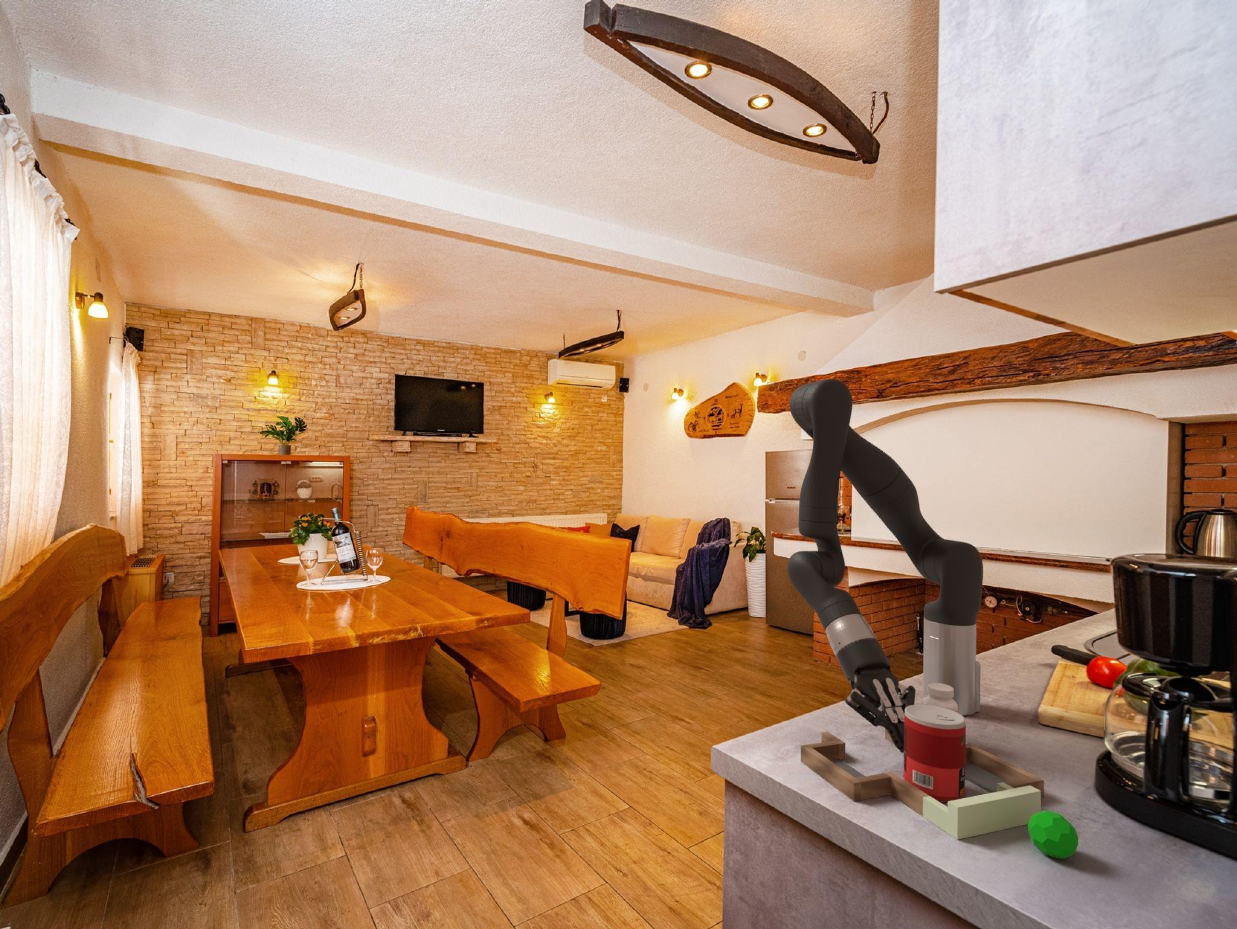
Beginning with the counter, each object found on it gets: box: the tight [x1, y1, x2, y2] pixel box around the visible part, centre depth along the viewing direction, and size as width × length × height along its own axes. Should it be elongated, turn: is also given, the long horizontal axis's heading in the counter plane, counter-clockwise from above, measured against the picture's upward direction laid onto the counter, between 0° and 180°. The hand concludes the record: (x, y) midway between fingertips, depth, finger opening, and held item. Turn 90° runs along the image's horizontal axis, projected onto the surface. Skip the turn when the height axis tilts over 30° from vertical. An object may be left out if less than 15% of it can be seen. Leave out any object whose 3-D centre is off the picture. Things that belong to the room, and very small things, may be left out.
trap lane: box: [800, 728, 1045, 817], centre depth 94 cm, size 23×27×2 cm
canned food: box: [903, 704, 967, 803], centre depth 89 cm, size 8×8×11 cm
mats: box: [830, 758, 1007, 793], centre depth 92 cm, size 17×24×1 cm
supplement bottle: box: [922, 683, 958, 713], centre depth 105 cm, size 5×5×10 cm
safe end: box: [922, 782, 1042, 840], centre depth 82 cm, size 6×14×4 cm, turn 109°
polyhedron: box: [1027, 809, 1079, 860], centre depth 74 cm, size 5×5×5 cm
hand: (908, 750), depth 93 cm, fingers closed
